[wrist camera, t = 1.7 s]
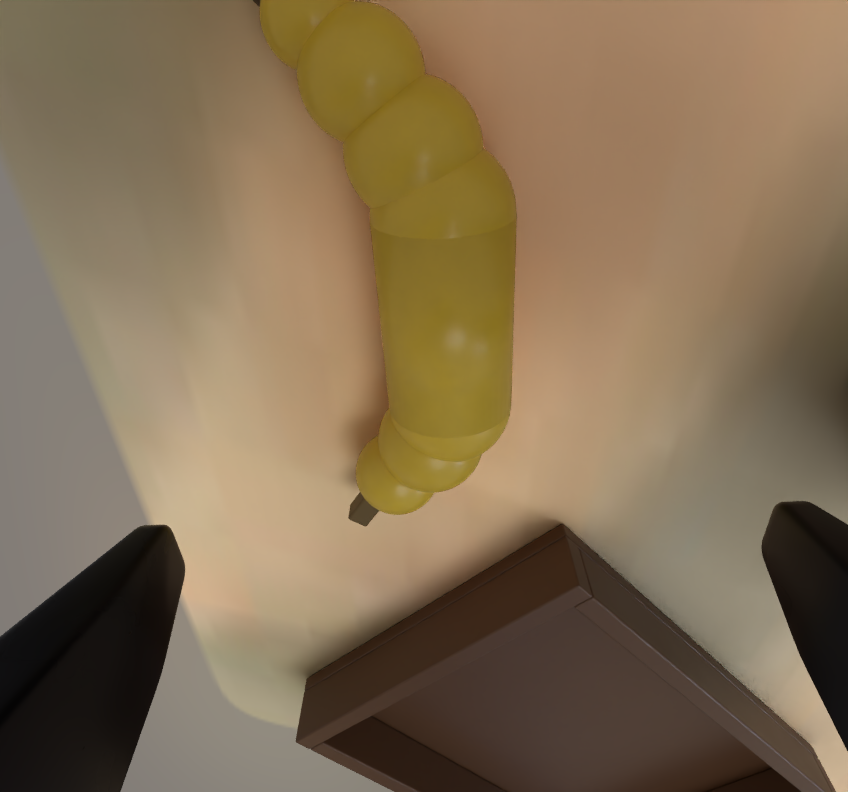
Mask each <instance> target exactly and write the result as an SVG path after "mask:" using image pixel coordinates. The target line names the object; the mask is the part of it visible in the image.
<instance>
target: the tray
mask: <svg viewBox="0 0 848 792" xmlns="http://www.w3.org/2000/svg"><path fill="white" fill-rule="evenodd" d="M296 742H297V743H299V744H300V745H302V746H304V747H306V748H309V749H311V750H313V751H315V752H317V753H319V754H321V755H323V756H324V757H326V758H328V759H330V760H333V761H335V762H336V763H338V764H340V765H342V766H344V767H347V768H349V769H350V770H352V771H355V772H356V773H359V774H361V775H362V776H365V777H366V778H369V779H371V780H372V781H374V782H376V783H379V784H380V785H382V786H384V787H387V788H388V789H391V790H392V791H394V792H836V791H835V789H834V787H833V785H832V783H831V781H830V780H829V778H828V776H827V774H826V772H825V770H824V768H823V766H822V764H821V762H820V761H819V759H818V757H817V755H816V753H815V751H814V749H813V747H812V746H811V745H809V744H808V743H807V742H806V741H805V740H804V739H803V738H802V737H800V736H799V735H798V734H797V733H796V732H795V731H794V730H793V729H792V728H790V727H789V726H788V725H787V724H786V723H785V722H784V721H783V720H781V719H780V718H779V717H778V716H777V715H776V714H775V713H774V712H773V711H771V710H770V709H769V708H768V707H767V706H766V705H765V704H764V703H762V702H761V701H760V700H759V699H758V698H757V697H756V696H755V695H753V694H752V693H751V692H750V691H749V690H748V689H747V688H746V687H745V686H743V685H742V684H741V683H740V682H739V681H738V680H737V679H736V678H734V677H733V676H732V675H731V674H730V673H729V672H728V671H727V670H726V669H724V668H723V667H722V666H721V665H720V664H719V663H718V662H717V661H715V660H714V659H713V658H712V657H711V656H710V655H709V654H708V653H706V652H705V651H704V650H703V649H702V648H701V647H700V646H699V645H698V644H696V643H695V642H694V641H693V640H692V639H691V638H690V637H689V636H687V635H686V634H685V633H684V632H683V631H682V630H681V629H680V628H679V627H677V626H676V625H675V624H674V623H673V622H672V621H671V620H670V619H668V618H667V617H666V616H665V615H664V614H663V613H662V612H661V611H659V610H658V609H657V608H656V607H655V606H654V605H653V604H652V603H651V602H649V601H648V600H647V599H646V598H645V597H644V596H643V595H642V594H640V593H639V592H638V591H637V590H636V589H635V588H634V587H633V586H632V585H630V584H629V583H628V582H627V581H626V580H625V579H624V578H623V577H621V576H620V575H619V574H618V573H617V572H616V571H615V570H614V569H613V568H611V567H610V566H609V565H608V564H607V563H606V562H605V561H604V560H602V559H601V558H600V557H599V556H598V555H597V554H596V553H595V552H593V551H592V550H591V549H590V548H589V547H588V546H587V545H586V544H585V543H583V542H582V541H581V540H580V539H579V538H578V537H577V536H576V535H574V534H573V533H572V532H571V531H570V530H569V529H568V528H567V527H566V526H564V525H563V524H561V525H559V526H558V527H556V528H554V529H553V530H551V531H549V532H548V533H546V534H544V535H543V536H541V537H540V538H538V539H536V540H535V541H533V542H531V543H530V544H528V545H526V546H525V547H523V548H521V549H520V550H518V551H516V552H515V553H513V554H511V555H510V556H508V557H507V558H505V559H503V560H502V561H500V562H498V563H497V564H495V565H493V566H492V567H490V568H488V569H487V570H485V571H483V572H482V573H480V574H479V575H477V576H475V577H474V578H472V579H470V580H469V581H467V582H465V583H464V584H462V585H460V586H459V587H457V588H455V589H454V590H452V591H451V592H449V593H447V594H446V595H444V596H442V597H441V598H439V599H437V600H436V601H434V602H432V603H431V604H429V605H427V606H426V607H424V608H423V609H421V610H419V611H418V612H416V613H414V614H413V615H411V616H409V617H408V618H406V619H404V620H403V621H401V622H399V623H398V624H396V625H395V626H393V627H391V628H390V629H388V630H386V631H385V632H383V633H381V634H380V635H378V636H376V637H375V638H373V639H371V640H370V641H368V642H367V643H365V644H363V645H362V646H360V647H358V648H357V649H355V650H353V651H352V652H350V653H348V654H347V655H345V656H343V657H342V658H340V659H339V660H337V661H335V662H334V663H332V664H330V665H329V666H327V667H325V668H324V669H322V670H320V671H319V672H317V673H315V674H314V675H312V676H311V677H309V678H307V680H306V685H305V692H304V697H303V703H302V708H301V714H300V719H299V725H298V731H297V736H296Z"/></svg>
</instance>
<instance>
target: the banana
mask: <svg viewBox="0 0 848 792" xmlns="http://www.w3.org/2000/svg"><path fill="white" fill-rule="evenodd" d="M253 1H254V2H255V3H256V4H257V5H258V6H259V7H260V23H261V27H262V31H263V34H264V37H265V39H266V41H267V43H268V45H269V46H270V48H271V50H272V51H273V52H274V53H275V55H276V56H277V57H278V58H279V59H280V60H281V61H282V62H283V63H285V64H286V65H287V66H289V67H291V68H292V69H295V70H297V80H298V86H299V91H300V94H301V97H302V100H303V103H304V105H305V107H306V109H307V111H308V113H309V114H310V116H311V117H312V119H313V120H314V121H315V122H316V124H317V125H318V126H319V127H320V128H321V129H322V130H323V131H325V132H326V133H327V134H328V135H330V136H332V137H333V138H335V139H337V140H339V141H341V142H343V158H344V163H345V168H346V171H347V174H348V177H349V179H350V182H351V184H352V186H353V188H354V189H355V191H356V193H357V194H358V195H359V197H360V198H361V199H362V200H363V202H364V203H365V204H366V205H367V206H368V207H370V228H371V238H372V247H373V257H374V266H375V276H376V286H377V295H378V305H379V314H380V324H381V333H382V343H383V353H384V362H385V372H386V381H387V391H388V400H389V408H388V410H387V411H386V413H385V415H384V417H383V419H382V421H381V424H380V428H379V434H378V436H376V437H375V438H373V439H372V440H371V441H369V442H368V443H367V445H366V446H365V447H364V448H363V450H362V451H361V453H360V456H359V458H358V461H357V465H356V481H357V485H358V488H359V490H360V493H359V494H358V496H357V497H356V498H355V500H354V501H353V502H352V503H351V505H350V511H349V519H350V520H352V521H354V522H356V523H359V524H361V525H363V526H367V525H368V524H369V522H370V521H371V520H372V519H373V517H374V516H375V515H376V514H377V513H378V511H382V512H384V513H388V514H394V515H401V514H407V513H410V512H413V511H416V510H417V509H419V508H421V507H422V506H423V505H425V504H426V503H427V502H428V501H429V499H430V498H431V497H432V495H433V494H434V493H435V492H442V491H446V490H449V489H451V488H454V487H456V486H457V485H459V484H460V483H462V482H463V481H465V480H466V479H467V478H468V477H469V476H470V475H471V473H472V472H473V471H474V470H475V468H476V466H477V465H478V462H479V460H480V458H481V454H482V453H484V452H485V451H487V450H488V449H489V448H490V447H492V446H493V445H494V444H495V442H496V441H497V440H498V439H499V437H500V436H501V434H502V433H503V431H504V429H505V427H506V425H507V422H508V419H509V416H510V409H511V394H512V359H513V324H514V289H515V254H516V220H517V213H516V202H515V195H514V191H513V188H512V184H511V181H510V179H509V177H508V175H507V174H506V172H505V170H504V168H503V167H502V166H501V165H500V163H499V162H498V161H497V160H496V158H495V157H494V156H493V155H491V154H490V153H489V152H488V151H487V150H485V149H484V148H483V139H482V133H481V128H480V125H479V122H478V119H477V117H476V114H475V112H474V110H473V109H472V107H471V105H470V104H469V102H468V101H467V100H466V99H465V97H464V96H463V95H462V94H461V93H460V92H459V91H458V90H457V89H456V88H454V87H453V86H452V85H450V84H449V83H447V82H446V81H444V80H442V79H439V78H437V77H435V76H431V75H428V74H425V66H424V61H423V56H422V53H421V50H420V47H419V45H418V43H417V41H416V39H415V37H414V35H413V34H412V32H411V30H410V29H409V28H408V27H407V25H406V24H405V23H404V22H403V21H402V20H401V19H400V18H399V17H398V16H397V15H395V14H394V13H392V12H391V11H389V10H388V9H386V8H384V7H382V6H379V5H376V4H373V3H369V2H362V1H354V0H253Z"/></svg>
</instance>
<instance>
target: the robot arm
mask: <svg viewBox="0 0 848 792" xmlns="http://www.w3.org/2000/svg"><path fill="white" fill-rule="evenodd" d="M762 555H763V558H764V561H765V564H766V567H767V569H768V572H769V575H770V577H771V580H772V583H773V585H774V588H775V591H776V593H777V596H778V599H779V601H780V604H781V607H782V610H783V612H784V615H785V618H786V620H787V623H788V626H789V628H790V631H791V634H792V636H793V639H794V641H795V644H796V646H797V649H798V651H799V654H800V656H801V658H802V660H803V662H804V664H805V667H806V669H807V671H808V673H809V675H810V677H811V679H812V681H813V683H814V685H815V687H816V689H817V691H818V693H819V695H820V697H821V699H822V701H823V703H824V705H825V707H826V709H827V711H828V713H829V715H830V717H831V719H832V721H833V723H834V725H835V727H836V729H837V731H838V733H839V735H840V737H841V739H842V741H843V743H844V745H845V747H846V749H847V751H848V525H847V524H846V523H844V522H842V521H841V520H839V519H837V518H836V517H834V516H832V515H831V514H829V513H827V512H826V511H824V510H822V509H821V508H819V507H818V506H816V505H814V504H812V503H810V502H806V501H793V502H780V503H778V504H777V505H776V506H775V507H774V509H773V511H772V514H771V517H770V520H769V523H768V526H767V528H766V531H765V534H764V537H763V540H762ZM184 577H185V563H184V560H183V557H182V555H181V552H180V549H179V547H178V544H177V542H176V539H175V537H174V534H173V532H172V530H171V528H170V527H168V526H167V525H144V526H140V527H138V528H137V529H135V530H134V531H133V532H131V533H130V534H129V535H127V536H126V537H125V538H124V539H123V540H121V541H120V542H119V543H118V544H116V545H115V546H114V547H112V548H111V549H110V550H109V551H107V552H106V553H105V554H103V555H102V556H101V557H100V558H98V559H97V560H96V561H95V562H93V563H92V564H91V565H90V566H88V567H87V568H86V569H85V570H84V571H82V572H81V573H80V574H78V575H77V576H76V577H75V578H73V579H72V580H71V581H70V582H68V583H67V584H66V585H65V586H63V587H62V588H61V589H59V590H58V591H57V592H56V593H54V594H53V595H52V596H51V597H49V598H48V599H47V600H46V601H44V602H43V603H42V604H41V605H39V606H38V607H37V608H36V609H35V610H33V611H32V612H30V613H29V614H28V615H27V616H25V617H24V618H23V619H22V620H20V621H19V622H18V623H17V624H15V625H14V626H13V627H12V628H10V629H9V630H8V631H7V632H5V633H4V634H3V635H2V636H0V792H120V791H121V788H122V785H123V782H124V780H125V777H126V774H127V771H128V768H129V765H130V763H131V760H132V757H133V754H134V751H135V748H136V745H137V743H138V740H139V737H140V734H141V731H142V728H143V726H144V723H145V720H146V717H147V714H148V711H149V708H150V706H151V703H152V700H153V697H154V694H155V691H156V688H157V685H158V682H159V679H160V676H161V673H162V669H163V665H164V662H165V658H166V653H167V649H168V645H169V641H170V637H171V632H172V628H173V624H174V620H175V615H176V611H177V607H178V603H179V598H180V594H181V590H182V586H183V581H184Z"/></svg>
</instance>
